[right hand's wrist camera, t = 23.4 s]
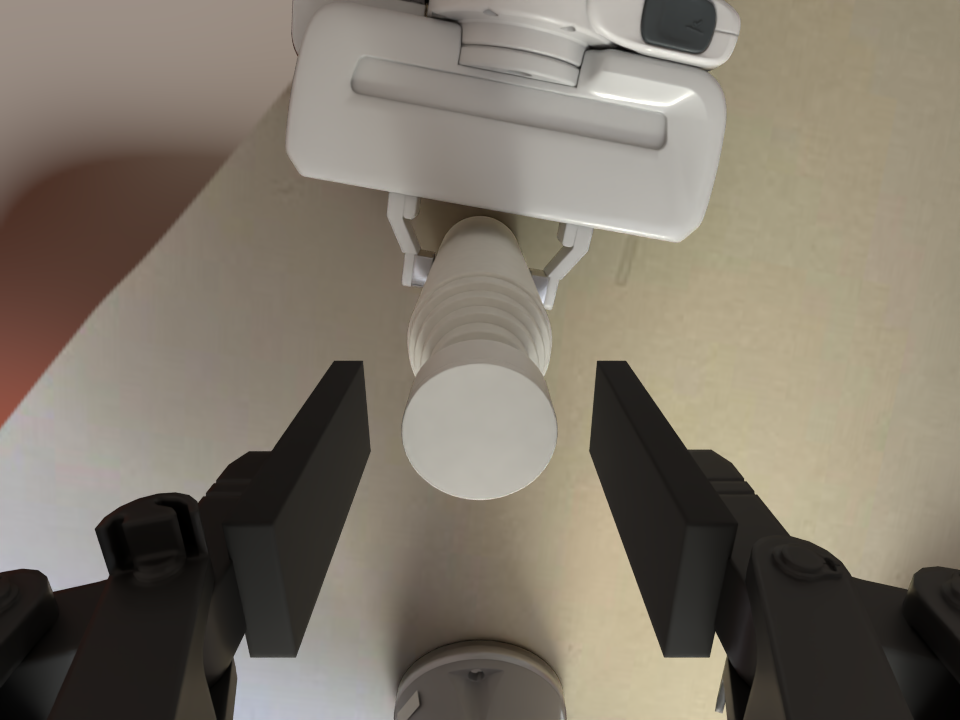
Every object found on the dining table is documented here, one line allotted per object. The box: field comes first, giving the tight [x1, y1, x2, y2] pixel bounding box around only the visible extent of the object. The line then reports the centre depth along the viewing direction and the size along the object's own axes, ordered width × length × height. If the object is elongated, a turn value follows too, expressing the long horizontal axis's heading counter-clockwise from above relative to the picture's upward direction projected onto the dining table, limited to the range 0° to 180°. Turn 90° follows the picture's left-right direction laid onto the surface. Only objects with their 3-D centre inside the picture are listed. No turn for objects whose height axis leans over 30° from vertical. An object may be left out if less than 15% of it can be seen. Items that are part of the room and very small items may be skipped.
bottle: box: [407, 216, 552, 377], centre depth 24 cm, size 5×5×22 cm
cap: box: [402, 339, 557, 500], centre depth 14 cm, size 4×4×2 cm
